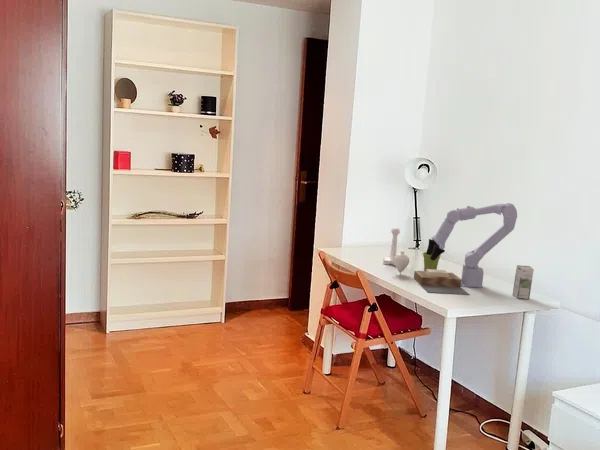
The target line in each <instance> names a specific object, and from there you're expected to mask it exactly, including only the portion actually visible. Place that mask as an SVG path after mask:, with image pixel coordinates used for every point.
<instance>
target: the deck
mask: <svg viewBox="0 0 600 450" xmlns="http://www.w3.org/2000/svg"><path fill="white" fill-rule="evenodd" d="M413 279H414V281H416V282H417V283H418V285H420V286H421V285H429V286H448V287H461V286H462V285H461V280H462V279H461V278H460V277H459V276H457V274H455V273H454V272H448V277H434V276H429V275H427V274H426V270H414V272H413ZM461 288H462V287H461Z"/></svg>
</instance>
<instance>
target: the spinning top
mask: <svg viewBox="0 0 600 450" xmlns="http://www.w3.org/2000/svg"><path fill="white" fill-rule="evenodd" d="M394 263H395V265H394V266H395V267H396V269H397V271H398V273H399V275H401V273H403V271H404V270H406V268H407V267H408V265H409V264H410V257H409V256H408V254H406V253H405V250H400V252H399V253H396V256H395V257H394Z"/></svg>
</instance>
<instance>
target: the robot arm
mask: <svg viewBox="0 0 600 450" xmlns="http://www.w3.org/2000/svg"><path fill="white" fill-rule="evenodd" d="M489 214H496V215H499V216H501V215H502V217H503V218H502V219H503V221H502V222H503V224H502V225H501V226H500V227H499V228H498V229H496V231H494V232H493V233H492V234H491V235H490V236H489V237H487V239H485V240H484V241H483V242H482V243H481V244H479V246H477V247H476V248H475V249H473V250H472V251H468V252H467V253H466V254H465V255H464V264H463V265H462V271H461V278H460V279H462V280H461V286H462V287H466V288H483V280H484V269H483V267H479V265H478V264H479V262H480V261H481V260H482V259H483V258H484V256H485V255H486V254H488V253H489V252H490V251H491V250H492V249H494V247H495V246H497V245H498V244H499V243H500V242H501V241H502V240H504V239H505V238H506V237H508V235H509V234H510V233H511V232H513V231H514V229H515V225H516V222H517V219H518V210H517V208H516V206H515V204H512V203H510V202H508V203H498V204H491V205H486V206H483V207H477V208H475V207H474V206H471V205H467V206H466V207H463V208H459V207H456V209H450V210H449V211H448V212H447V213H446V217H445V218H444V219H443V221H442V222H441V224H440V226H439V228H438V229H437V232H436V233H435V235H434V234H433V236H431V238H429V239H428V244H427V245H428V246H427V249H426V251H425V252H426V254H428V255H431V254H432V255H431V257H430V259H431V260H433V261H434V260H435V259H436V258H437V257H438V256H439V255H442V254H443V253H445V251H446V250H445V248H446V242H447V240H448V238H449V237H450V235H451V234H452V232H453V229H454V227H455V225H456V223H458V222H459V221H461V222H462V221H463V222H464V221H468V220H474V219H476V217H477V216H481V215H483V216H484V215H489Z"/></svg>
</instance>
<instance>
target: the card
mask: <svg viewBox="0 0 600 450" xmlns="http://www.w3.org/2000/svg"><path fill="white" fill-rule="evenodd" d="M425 271H426V274H427V275H429V276H434V277H448V273H449V272H448V271H447V270H446V269H437V270H434V269H426V270H425Z"/></svg>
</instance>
